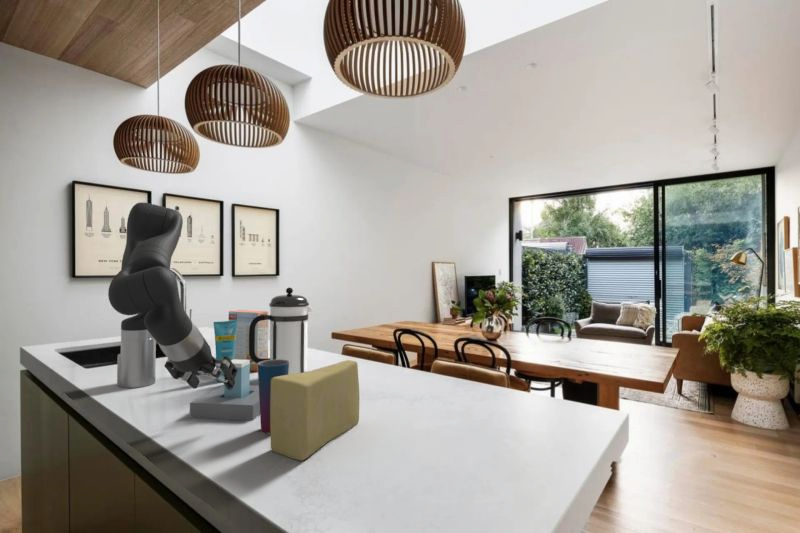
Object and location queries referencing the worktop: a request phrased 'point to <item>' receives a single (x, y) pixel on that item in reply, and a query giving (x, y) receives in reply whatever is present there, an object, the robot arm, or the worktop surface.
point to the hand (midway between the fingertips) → (214, 385)
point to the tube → (225, 340)
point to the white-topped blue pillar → (240, 380)
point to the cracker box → (243, 336)
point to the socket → (226, 405)
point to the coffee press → (285, 331)
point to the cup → (268, 387)
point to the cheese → (313, 408)
